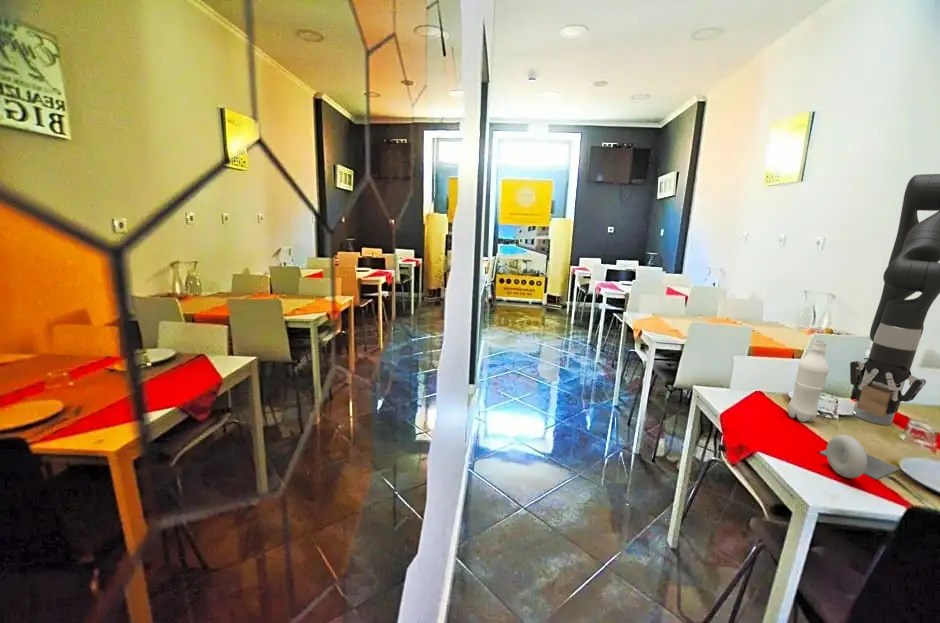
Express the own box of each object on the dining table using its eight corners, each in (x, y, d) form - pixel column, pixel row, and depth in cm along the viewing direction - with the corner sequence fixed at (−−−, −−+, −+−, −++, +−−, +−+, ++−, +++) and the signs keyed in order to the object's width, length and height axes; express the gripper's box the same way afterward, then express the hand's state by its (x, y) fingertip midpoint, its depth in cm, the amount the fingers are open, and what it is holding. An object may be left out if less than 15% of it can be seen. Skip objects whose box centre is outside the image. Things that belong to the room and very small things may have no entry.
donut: (818, 461, 108) (828, 426, 105) (833, 463, 107) (843, 427, 105) (848, 486, 98) (860, 447, 96) (864, 488, 98) (876, 449, 95)
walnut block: (866, 405, 109) (873, 383, 107) (892, 413, 104) (899, 391, 103) (856, 407, 107) (863, 385, 105) (881, 417, 102) (889, 394, 101)
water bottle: (819, 425, 127) (841, 346, 122) (793, 421, 129) (813, 343, 123) (806, 414, 134) (826, 339, 128) (781, 411, 136) (800, 336, 130)
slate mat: (843, 444, 117) (843, 443, 117) (900, 469, 106) (900, 468, 106) (819, 453, 112) (819, 452, 112) (876, 479, 101) (876, 478, 101)
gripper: (943, 352, 97) (920, 419, 101) (866, 334, 109) (848, 394, 113) (928, 355, 94) (905, 424, 98) (850, 336, 106) (832, 398, 110)
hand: (874, 408), depth 106 cm, fingers closed on walnut block, 5 cm apart
